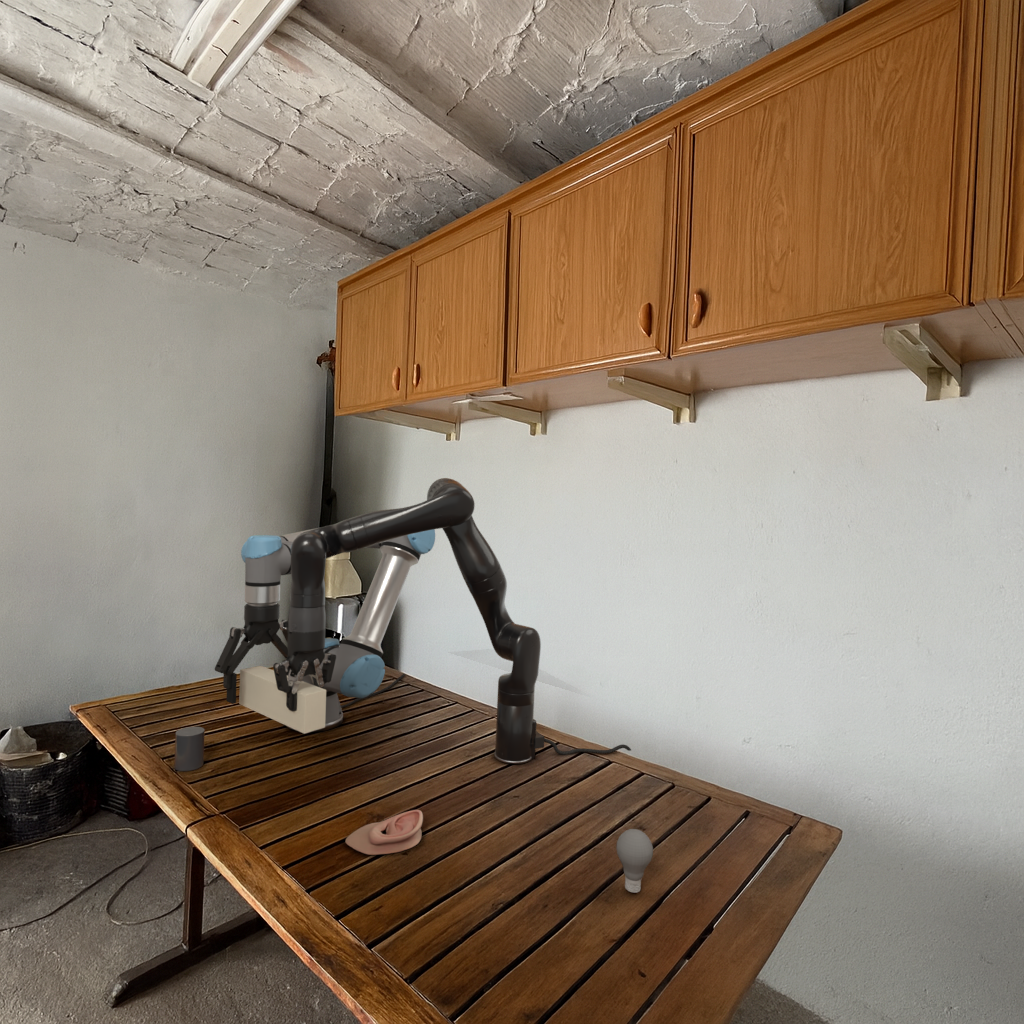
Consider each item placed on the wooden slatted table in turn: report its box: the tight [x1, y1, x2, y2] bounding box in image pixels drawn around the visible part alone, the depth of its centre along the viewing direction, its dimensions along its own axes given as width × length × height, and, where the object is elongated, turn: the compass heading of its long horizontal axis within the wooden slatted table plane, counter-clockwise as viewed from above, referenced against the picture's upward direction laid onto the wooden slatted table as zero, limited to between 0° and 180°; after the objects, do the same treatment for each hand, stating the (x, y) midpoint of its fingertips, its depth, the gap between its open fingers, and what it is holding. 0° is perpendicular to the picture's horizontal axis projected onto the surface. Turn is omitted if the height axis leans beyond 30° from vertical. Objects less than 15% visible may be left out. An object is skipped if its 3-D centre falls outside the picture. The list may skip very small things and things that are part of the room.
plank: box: [238, 665, 326, 735], centre depth 139 cm, size 26×5×8 cm, turn 51°
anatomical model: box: [344, 809, 424, 856], centre depth 118 cm, size 13×4×12 cm
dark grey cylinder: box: [173, 726, 206, 772], centre depth 146 cm, size 6×6×8 cm
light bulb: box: [615, 828, 654, 894], centre depth 106 cm, size 6×6×10 cm
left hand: (259, 695), depth 145 cm, fingers open, 13 cm apart
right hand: (304, 706), depth 133 cm, fingers closed on plank, 5 cm apart
